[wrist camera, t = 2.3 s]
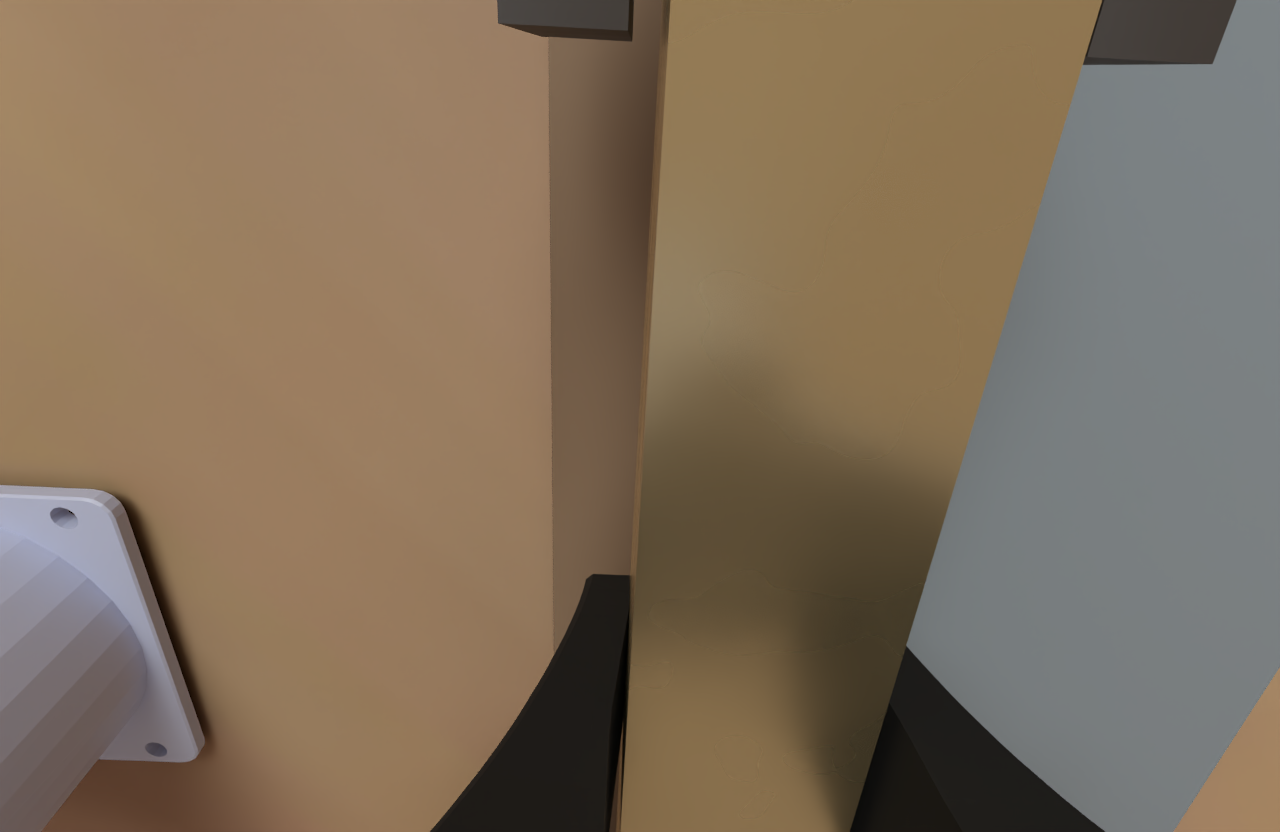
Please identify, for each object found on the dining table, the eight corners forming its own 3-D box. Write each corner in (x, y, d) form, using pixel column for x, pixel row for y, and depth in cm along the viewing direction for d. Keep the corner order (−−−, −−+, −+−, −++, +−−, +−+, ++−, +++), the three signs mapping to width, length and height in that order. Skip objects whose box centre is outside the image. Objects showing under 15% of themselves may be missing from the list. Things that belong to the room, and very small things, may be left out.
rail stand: (560, 848, 20) (530, 1135, 15) (557, -256, 9) (432, -722, 4) (767, 855, 20) (812, 1143, 15) (1005, -227, 9) (1516, -639, 4)
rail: (605, 1016, 17) (598, 1190, 15) (694, -592, 6) (744, -1219, 3) (724, 1019, 17) (739, 1193, 15) (1063, -567, 6) (1450, -1147, 3)
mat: (802, 915, 21) (806, 937, 21) (1213, -564, 8) (1254, -611, 7) (1087, 925, 22) (1098, 946, 21) (1970, -507, 8) (2066, -548, 7)
